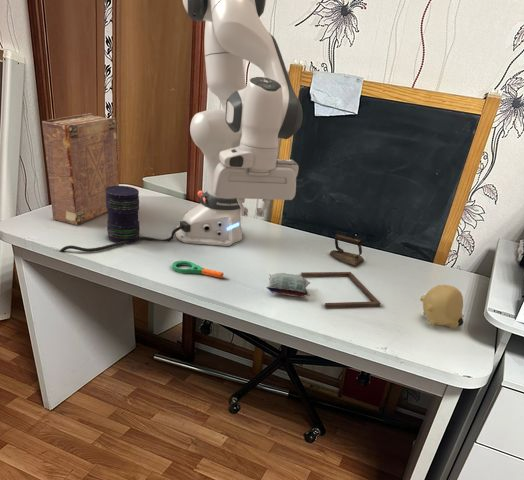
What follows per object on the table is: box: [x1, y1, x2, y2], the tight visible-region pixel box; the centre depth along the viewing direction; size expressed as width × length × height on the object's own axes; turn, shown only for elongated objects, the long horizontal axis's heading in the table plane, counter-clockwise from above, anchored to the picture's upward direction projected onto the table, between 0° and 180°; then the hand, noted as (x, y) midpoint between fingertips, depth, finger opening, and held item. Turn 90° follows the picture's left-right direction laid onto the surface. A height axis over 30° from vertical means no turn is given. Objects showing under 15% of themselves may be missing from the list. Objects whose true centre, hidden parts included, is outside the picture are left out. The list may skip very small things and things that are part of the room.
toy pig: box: [419, 284, 464, 328], centre depth 130 cm, size 10×12×11 cm
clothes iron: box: [329, 233, 365, 268], centre depth 161 cm, size 7×11×10 cm, turn 57°
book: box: [41, 112, 120, 226], centre depth 165 cm, size 25×9×30 cm, turn 162°
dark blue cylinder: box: [105, 185, 141, 245], centre depth 153 cm, size 10×10×15 cm
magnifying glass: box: [171, 260, 224, 279], centre depth 141 cm, size 15×6×2 cm, turn 71°
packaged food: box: [265, 272, 311, 297], centre depth 137 cm, size 9×12×5 cm
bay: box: [300, 271, 382, 309], centre depth 142 cm, size 16×20×1 cm
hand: (251, 215), depth 123 cm, fingers open, 3 cm apart
